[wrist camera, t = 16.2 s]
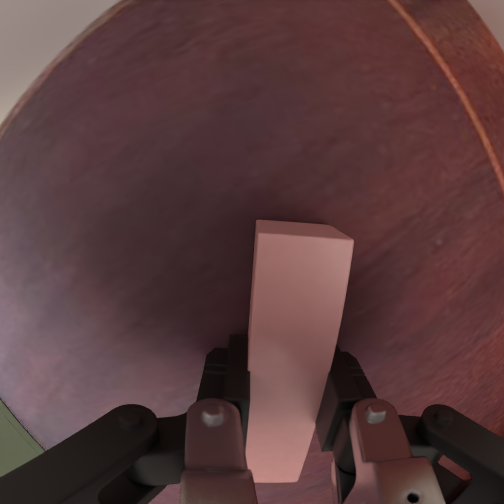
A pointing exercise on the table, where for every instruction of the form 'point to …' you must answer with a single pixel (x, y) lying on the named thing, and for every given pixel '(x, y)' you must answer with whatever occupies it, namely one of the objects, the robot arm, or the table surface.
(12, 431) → the bin
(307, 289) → the pink stick
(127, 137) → the table surface
